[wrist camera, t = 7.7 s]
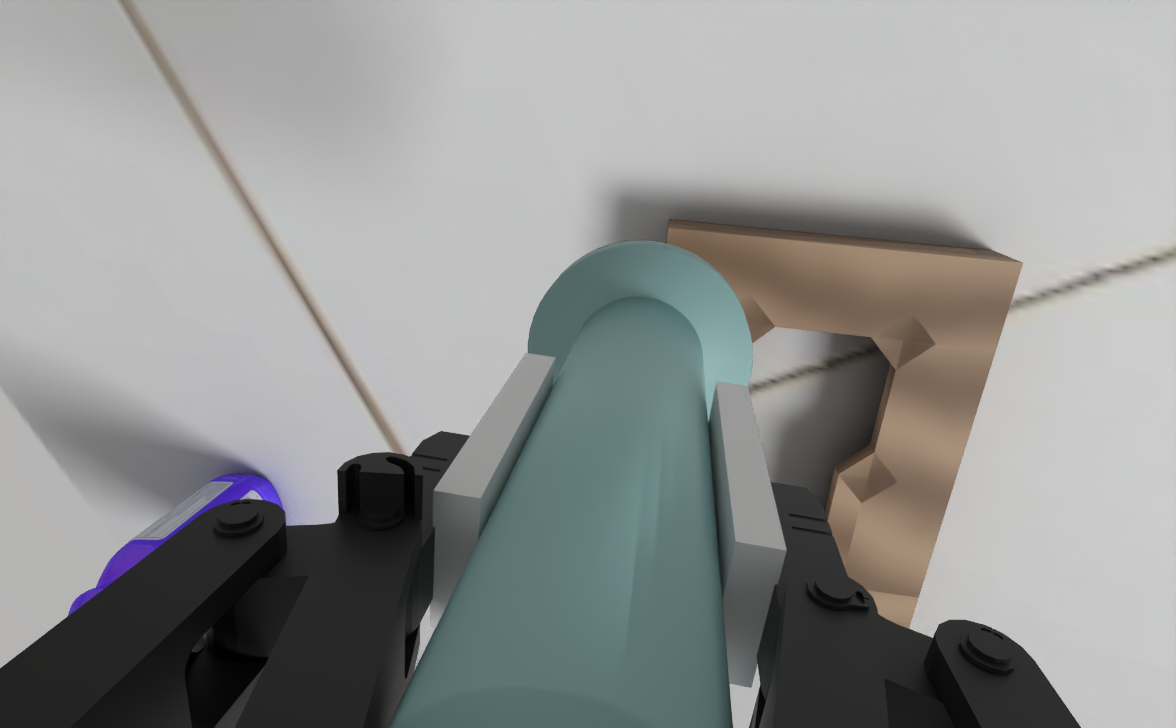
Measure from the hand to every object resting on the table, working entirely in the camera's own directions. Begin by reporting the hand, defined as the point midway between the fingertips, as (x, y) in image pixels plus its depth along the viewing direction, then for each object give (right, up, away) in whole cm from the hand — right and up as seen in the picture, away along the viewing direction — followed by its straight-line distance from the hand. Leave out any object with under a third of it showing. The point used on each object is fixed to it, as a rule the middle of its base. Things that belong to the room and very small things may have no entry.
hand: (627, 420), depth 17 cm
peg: (+1, +2, +5) cm, 6 cm away
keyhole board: (+11, -4, +26) cm, 29 cm away
